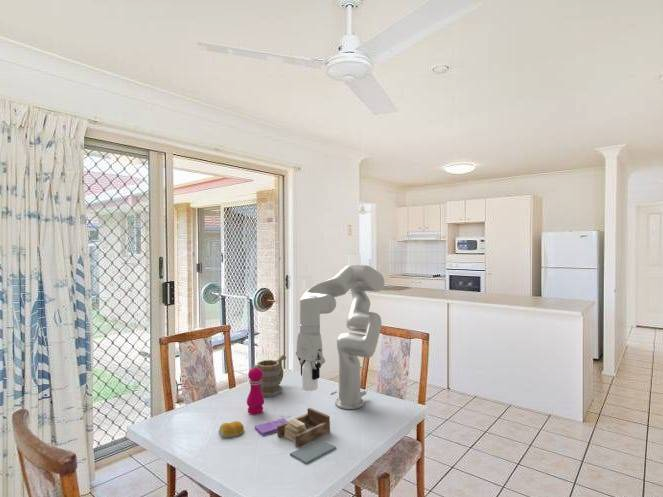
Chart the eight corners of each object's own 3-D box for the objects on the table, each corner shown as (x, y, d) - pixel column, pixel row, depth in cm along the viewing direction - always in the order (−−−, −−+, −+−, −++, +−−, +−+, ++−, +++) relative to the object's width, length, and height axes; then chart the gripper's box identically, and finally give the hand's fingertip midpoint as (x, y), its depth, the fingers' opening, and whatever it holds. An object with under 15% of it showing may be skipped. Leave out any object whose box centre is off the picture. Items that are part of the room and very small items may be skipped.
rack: (309, 422, 158) (309, 407, 158) (329, 432, 150) (329, 416, 150) (277, 436, 146) (277, 420, 146) (297, 447, 138) (297, 430, 138)
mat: (319, 440, 143) (319, 438, 143) (336, 448, 138) (336, 446, 138) (290, 455, 133) (290, 453, 133) (306, 464, 128) (306, 462, 128)
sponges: (292, 429, 153) (292, 424, 153) (261, 437, 146) (261, 432, 146) (283, 422, 159) (283, 417, 159) (254, 430, 152) (254, 425, 152)
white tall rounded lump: (316, 354, 153) (319, 358, 148) (316, 385, 153) (319, 390, 148) (300, 355, 152) (303, 359, 146) (300, 386, 152) (303, 391, 146)
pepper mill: (266, 408, 171) (266, 362, 171) (261, 415, 164) (261, 367, 164) (249, 407, 172) (249, 361, 171) (244, 414, 164) (244, 366, 164)
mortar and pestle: (269, 399, 181) (269, 366, 181) (249, 393, 188) (249, 361, 188) (296, 386, 198) (296, 356, 198) (277, 381, 205) (277, 352, 205)
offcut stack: (293, 432, 149) (293, 417, 149) (307, 439, 144) (307, 424, 144) (284, 436, 146) (284, 421, 146) (297, 444, 141) (297, 428, 141)
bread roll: (246, 434, 148) (246, 423, 148) (223, 440, 143) (223, 429, 143) (239, 425, 155) (239, 415, 155) (216, 431, 150) (216, 421, 150)
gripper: (287, 327, 153) (287, 373, 153) (318, 334, 141) (318, 385, 141) (302, 324, 158) (302, 369, 159) (333, 331, 146) (333, 379, 147)
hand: (310, 376), depth 150 cm, fingers closed on white tall rounded lump, 5 cm apart
